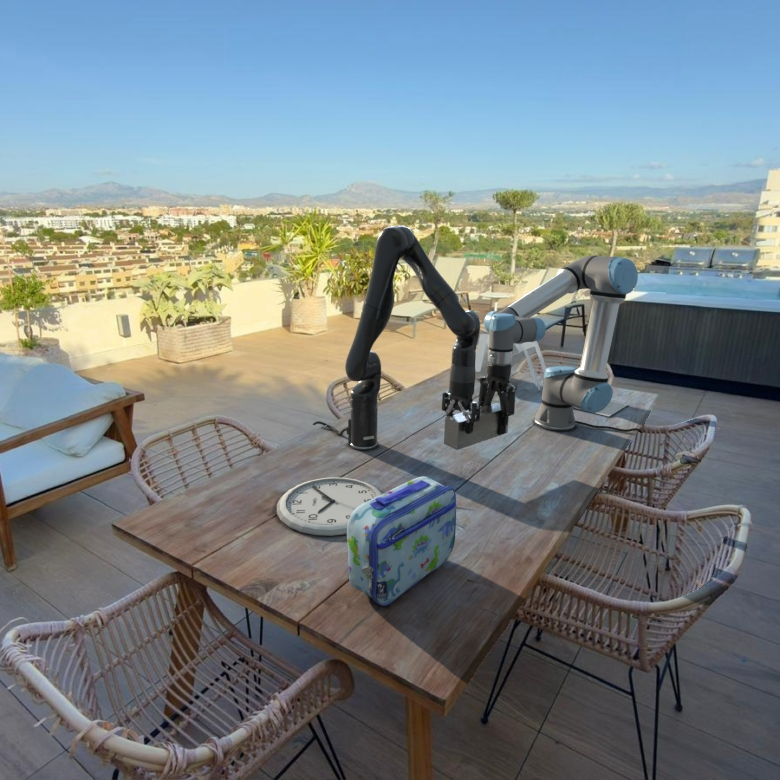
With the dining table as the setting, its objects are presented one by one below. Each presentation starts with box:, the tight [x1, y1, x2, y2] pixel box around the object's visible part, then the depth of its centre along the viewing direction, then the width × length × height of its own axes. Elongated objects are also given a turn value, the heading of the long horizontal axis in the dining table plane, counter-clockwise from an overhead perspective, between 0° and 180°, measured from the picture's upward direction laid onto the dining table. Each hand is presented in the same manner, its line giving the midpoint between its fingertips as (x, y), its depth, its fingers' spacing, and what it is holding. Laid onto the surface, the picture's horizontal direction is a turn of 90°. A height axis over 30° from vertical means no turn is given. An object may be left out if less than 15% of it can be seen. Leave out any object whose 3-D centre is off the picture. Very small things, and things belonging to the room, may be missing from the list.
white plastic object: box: [475, 333, 548, 392], centre depth 258 cm, size 37×45×31 cm
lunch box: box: [346, 475, 457, 607], centre depth 111 cm, size 26×11×21 cm, turn 134°
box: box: [443, 402, 510, 451], centre depth 166 cm, size 23×6×9 cm, turn 128°
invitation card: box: [573, 400, 629, 418], centre depth 226 cm, size 21×1×15 cm
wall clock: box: [276, 476, 384, 537], centre depth 142 cm, size 30×2×30 cm
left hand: (459, 429), depth 161 cm, fingers open, 7 cm apart
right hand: (494, 430), depth 173 cm, fingers closed on box, 6 cm apart
